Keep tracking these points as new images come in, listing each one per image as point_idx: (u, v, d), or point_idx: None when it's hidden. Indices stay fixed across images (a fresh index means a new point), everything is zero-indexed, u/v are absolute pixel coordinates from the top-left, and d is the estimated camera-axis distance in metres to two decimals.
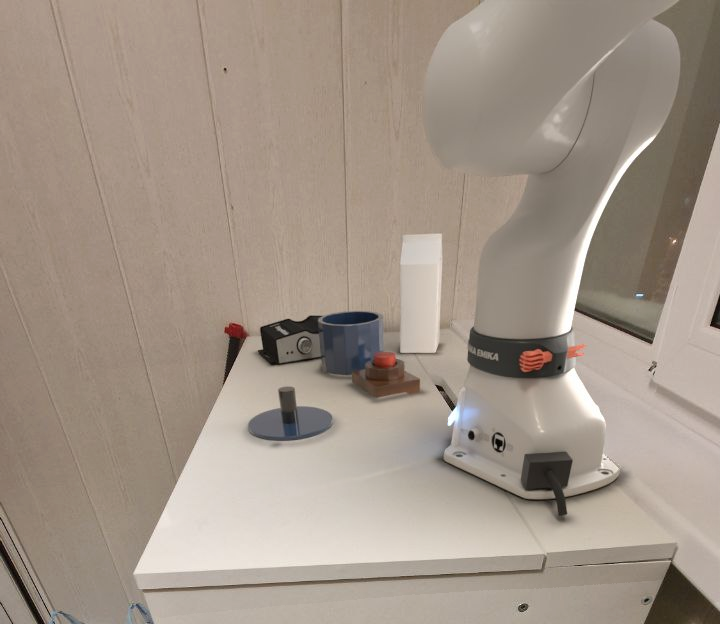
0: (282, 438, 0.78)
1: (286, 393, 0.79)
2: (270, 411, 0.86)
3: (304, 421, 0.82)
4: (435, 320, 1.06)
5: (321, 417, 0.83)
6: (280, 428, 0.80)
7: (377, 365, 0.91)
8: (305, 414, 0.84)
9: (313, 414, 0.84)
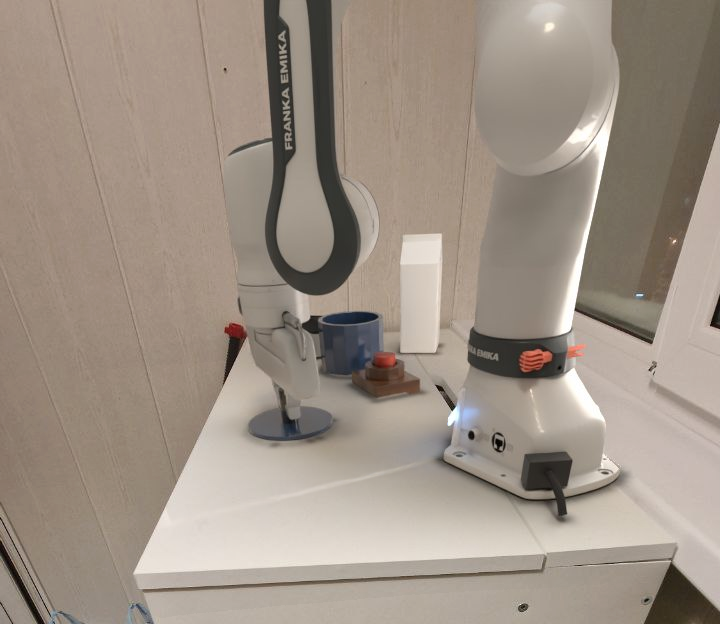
0: (282, 438, 0.78)
1: None
2: (270, 411, 0.86)
3: (304, 421, 0.82)
4: (435, 320, 1.06)
5: (321, 417, 0.83)
6: (280, 428, 0.80)
7: (377, 365, 0.91)
8: (305, 414, 0.84)
9: (313, 414, 0.84)
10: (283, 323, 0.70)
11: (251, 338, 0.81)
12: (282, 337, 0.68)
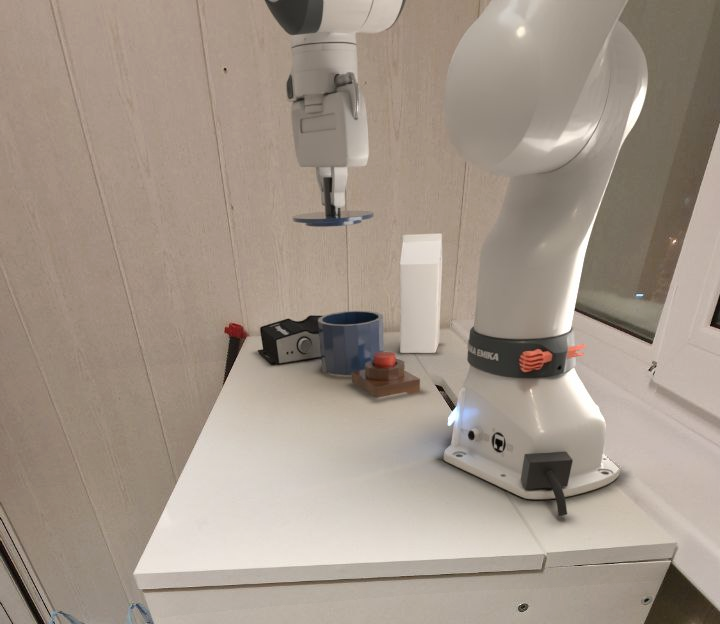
0: (328, 220, 0.81)
1: (331, 178, 0.82)
2: (311, 213, 0.89)
3: (346, 214, 0.85)
4: (435, 320, 1.06)
5: (362, 212, 0.86)
6: (324, 216, 0.83)
7: (377, 365, 0.91)
8: (346, 212, 0.87)
9: (354, 212, 0.87)
10: (335, 88, 0.73)
11: (296, 131, 0.84)
12: (336, 95, 0.72)
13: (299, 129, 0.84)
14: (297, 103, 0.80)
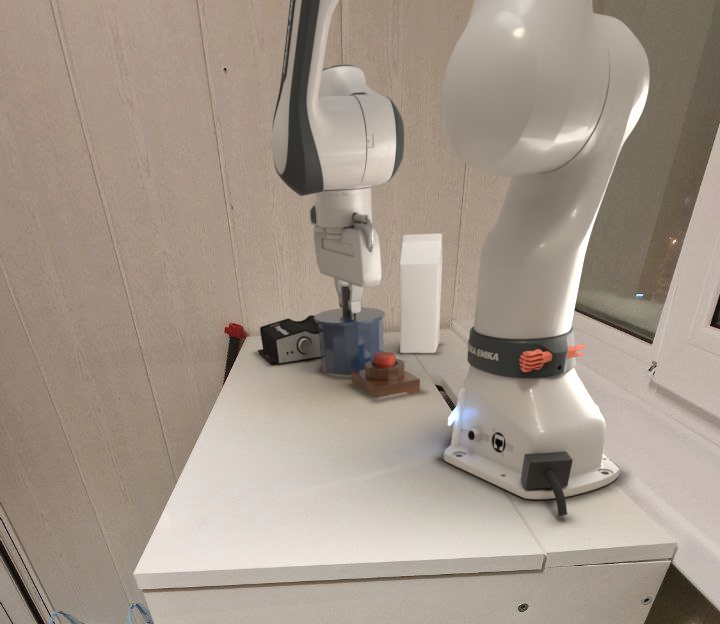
0: (345, 324, 0.94)
1: (348, 287, 0.95)
2: (330, 310, 1.02)
3: (361, 314, 0.98)
4: (435, 320, 1.06)
5: (374, 312, 0.99)
6: (342, 318, 0.96)
7: (377, 365, 0.91)
8: (361, 311, 1.00)
9: (367, 311, 1.00)
10: (352, 223, 0.87)
11: (318, 247, 0.98)
12: (353, 232, 0.85)
13: (320, 245, 0.97)
14: (319, 228, 0.93)
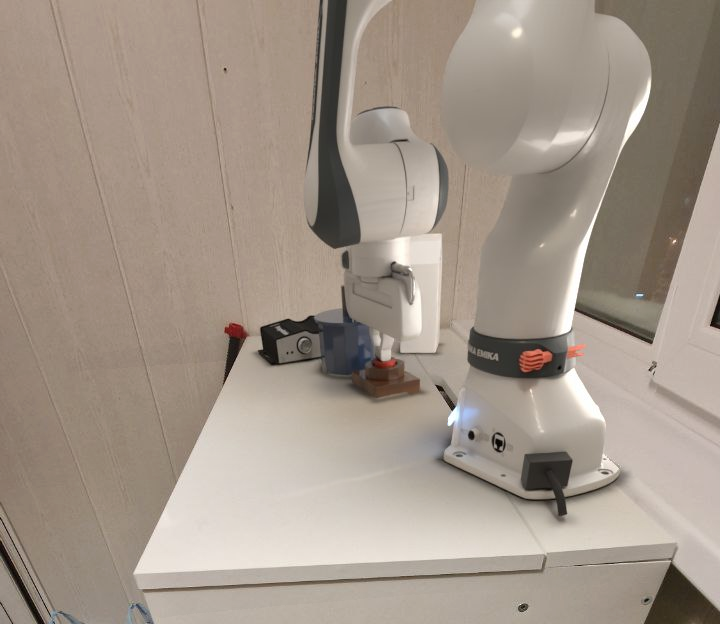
0: (345, 324, 0.94)
1: None
2: (330, 310, 1.02)
3: None
4: (435, 320, 1.06)
5: None
6: (342, 318, 0.96)
7: None
8: None
9: None
10: (391, 272, 0.80)
11: (348, 291, 0.91)
12: (393, 283, 0.78)
13: (351, 290, 0.90)
14: (352, 273, 0.86)
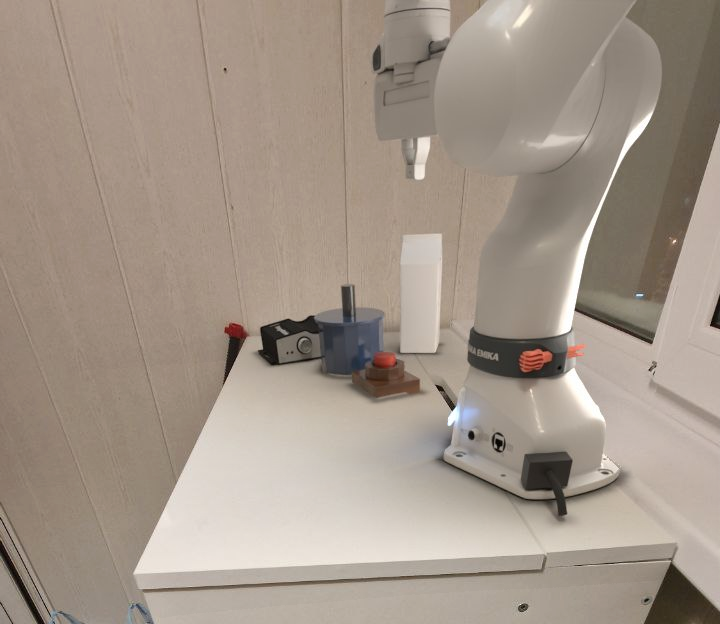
0: (345, 324, 0.94)
1: (348, 287, 0.95)
2: (330, 310, 1.02)
3: (361, 314, 0.98)
4: (435, 320, 1.06)
5: (374, 312, 0.99)
6: (342, 318, 0.96)
7: (377, 365, 0.91)
8: (361, 311, 1.00)
9: (367, 311, 1.00)
10: (429, 55, 0.73)
11: (379, 105, 0.84)
12: (432, 61, 0.71)
13: (382, 102, 0.83)
14: (384, 74, 0.79)
